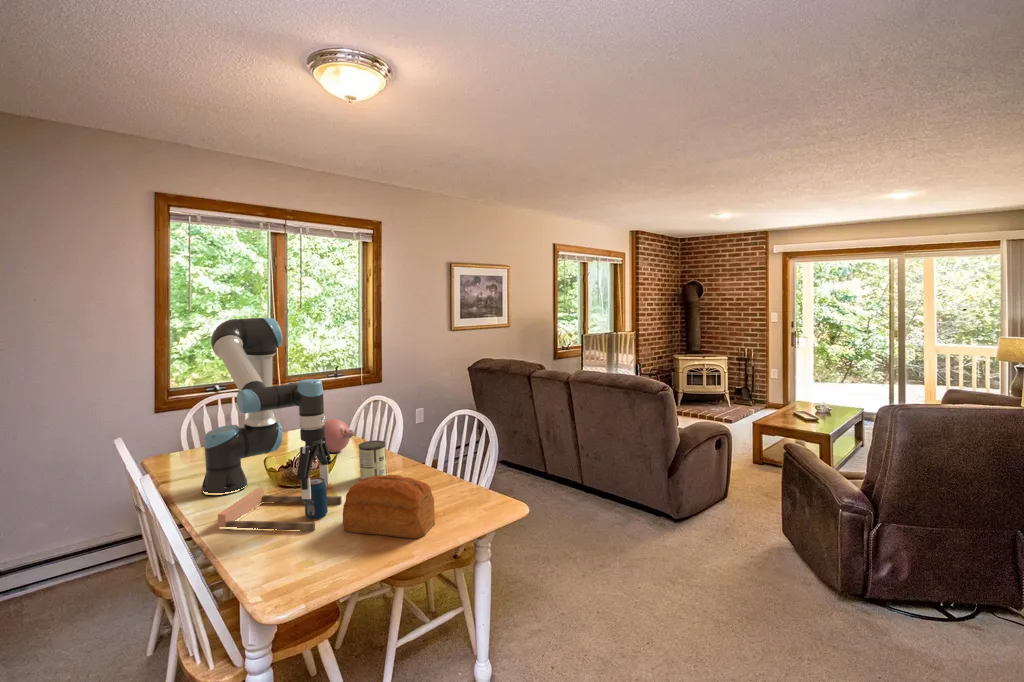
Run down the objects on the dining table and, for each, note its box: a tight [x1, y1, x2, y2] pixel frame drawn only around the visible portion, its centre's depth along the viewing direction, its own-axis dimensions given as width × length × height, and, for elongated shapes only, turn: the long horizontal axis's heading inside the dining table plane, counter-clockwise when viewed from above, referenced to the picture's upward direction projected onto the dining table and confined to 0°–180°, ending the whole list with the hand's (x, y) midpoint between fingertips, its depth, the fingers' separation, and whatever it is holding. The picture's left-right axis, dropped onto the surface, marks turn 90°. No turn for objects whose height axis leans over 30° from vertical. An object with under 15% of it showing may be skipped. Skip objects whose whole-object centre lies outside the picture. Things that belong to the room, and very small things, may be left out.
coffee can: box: [358, 440, 387, 481], centre depth 208 cm, size 10×10×14 cm
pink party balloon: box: [323, 418, 356, 454], centre depth 244 cm, size 15×20×15 cm
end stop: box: [217, 487, 265, 528], centre depth 175 cm, size 2×22×5 cm, turn 176°
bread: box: [342, 474, 436, 539], centre depth 164 cm, size 16×27×16 cm, turn 76°
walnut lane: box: [226, 494, 343, 532], centre depth 174 cm, size 28×22×2 cm
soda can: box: [304, 477, 329, 520], centre depth 173 cm, size 7×7×12 cm
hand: (315, 491), depth 172 cm, fingers open, 13 cm apart
